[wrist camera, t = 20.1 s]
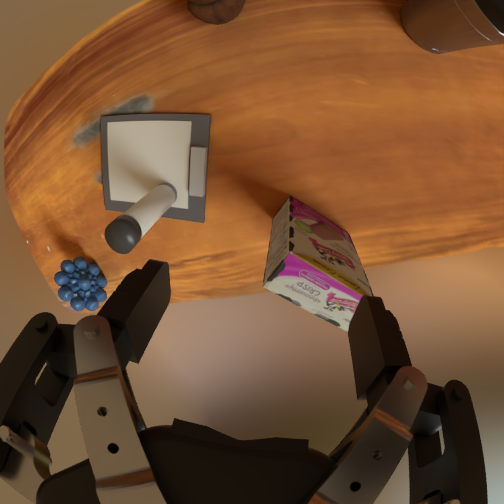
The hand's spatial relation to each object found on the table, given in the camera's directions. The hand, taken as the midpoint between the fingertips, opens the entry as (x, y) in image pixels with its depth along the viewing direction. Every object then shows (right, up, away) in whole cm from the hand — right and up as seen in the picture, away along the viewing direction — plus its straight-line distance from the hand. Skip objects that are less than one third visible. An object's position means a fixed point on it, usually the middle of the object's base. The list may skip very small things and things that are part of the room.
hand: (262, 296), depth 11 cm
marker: (-13, +10, +28) cm, 32 cm away
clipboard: (-16, +15, +26) cm, 34 cm away
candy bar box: (+8, +6, +29) cm, 30 cm away
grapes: (-33, -1, +39) cm, 51 cm away
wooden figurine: (-4, +34, +14) cm, 37 cm away
